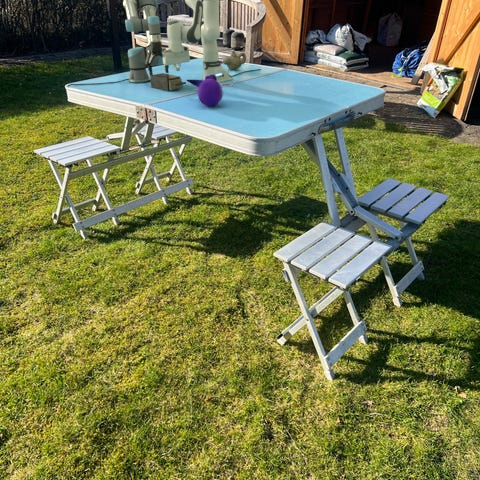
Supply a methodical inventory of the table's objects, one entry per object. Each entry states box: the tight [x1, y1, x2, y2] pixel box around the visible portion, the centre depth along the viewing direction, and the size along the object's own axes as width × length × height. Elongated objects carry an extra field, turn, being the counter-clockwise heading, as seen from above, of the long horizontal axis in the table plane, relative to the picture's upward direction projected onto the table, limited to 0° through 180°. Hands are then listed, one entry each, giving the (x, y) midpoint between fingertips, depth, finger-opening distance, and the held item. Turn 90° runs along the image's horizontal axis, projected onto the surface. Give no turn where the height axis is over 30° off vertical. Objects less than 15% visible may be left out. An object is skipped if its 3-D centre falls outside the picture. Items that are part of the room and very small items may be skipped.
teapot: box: [222, 50, 247, 71], centre depth 368 cm, size 21×12×15 cm, turn 120°
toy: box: [185, 75, 224, 107], centre depth 270 cm, size 16×18×27 cm
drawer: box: [168, 77, 187, 91], centre depth 311 cm, size 24×10×6 cm, turn 44°
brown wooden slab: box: [149, 72, 182, 92], centre depth 314 cm, size 20×11×8 cm, turn 44°
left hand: (159, 74), depth 316 cm, fingers open, 13 cm apart
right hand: (177, 70), depth 301 cm, fingers closed
